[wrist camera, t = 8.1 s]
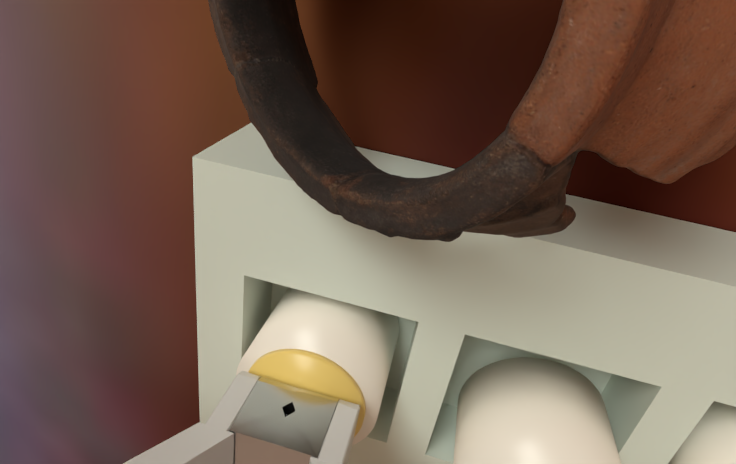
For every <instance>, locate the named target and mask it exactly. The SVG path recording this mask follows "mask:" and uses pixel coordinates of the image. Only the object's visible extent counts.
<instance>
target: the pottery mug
mask: <svg viewBox="0 0 736 464" xmlns="http://www.w3.org/2000/svg"><path fill="white" fill-rule="evenodd" d="M208 1H209V7H210V12H211V17H212V19H213V23H214V28H215V32H216V35H217V38H218V42H219V44H220V47H221V50H222V53H223V55H224V57H225V60H226V63H227V66H228V69H229V71H230V72H231V74H232V75H233V76H234V77H235V81H236V86H237V90H238V92H239V95H240V97H241V100H242V102H243V104H244V106H245V108H246V110H247V112H248V115H249V119H250V121H251V122H252V124H253V125H254V127H255V128H256V129H257V131H258V132H259V133H260V134H261V136H262V137H263V139H264V141H265V142H266V144H267V146H268V148H269V150H270V151H271V153H272V154H273V156H274V158H275V159H276V161H277V162H278V163H279V164H280V165H281V166H282V167H283V169H284V170H285V171H286V172H287V173H288V174H289V176H290V177H291V178H292V179H293V180H294V181H295V183H296V184H297V186H299V187H300V188H301V189H302V190H303V192H305V193H306V194H307V195H308V196H309V197H310V198H311V199H314V200H315V201H317V202H318V203H319V204H320V205H321V206H323V207H324V208H325V209H326V210H327V211H329V212H330V213H332V214H336V215H341V216H342V217H343V218H344V219H345V220H346V221H348V222H351V223H353V224H356V225H359V226H362V227H364V228H366V229H369V230H375V231H377V232H379V233H381V234H383V235H386V236H388V237H396V236H400V237H405V238H409V239H415V240H440V241H444V242H451V241H453V240H455V239H457V238H459V237H460V235H461V234H462V232H463V231H464V232H470V233H483V234H492V235H505V236H509V237H514V238H523V237H532V236H540V235H548V234H553V233H557V232H560V231H563V230H564V229H566V228H567V227H568V226H569V225H570V224H571V223H572V222H573V221H574V219H575V217H576V213H575V211H574V209H573V208H572V207H570V206H569V205H565V204H566V187H567V185H568V180H569V178H570V175H571V169H572V167H573V165H574V163H575V160H576V156H577V154H578V152H580V151H591V152H595V153H597V154H598V155H599V156H600V157H601V158H603V159H604V160H606V161H608V162H609V163H611V164H613V165H615V166H617V167H626V168H628V169H630V170H631V171H632V172H634V173H636V174H638V175H640V176H643V177H646V178H650V179H652V180H653V181H656V182H659V183H663V184H670V183H673V182H675V181H677V180H678V179H679V178H681V177H682V176H684V175H685V174H687V173H688V172H690V171H691V170H693V169H695V168H697V167H699V166H702V165H705V164H707V163H710V162H713V161H715V160H717V159H718V158H720V157H721V156H723V155H724V154H725V153H726V152H728V151H729V150H730V149H732V148H733V147H734V146H735V145H736V0H563V2H562V6H561V9H560V12H559V17H558V22H557V25H556V28H555V31H554V34H553V36H552V39H551V41H550V44H549V46H548V49H547V51H546V54H545V56H544V59H543V61H542V64H541V66H540V68H539V70H538V72H537V74H536V75H535V77H534V79H533V81H532V83H531V85H530V87H529V88H528V90H527V91H526V93H525V95H524V96H523V98H522V100H521V102H520V103H519V105H518V107H517V108H516V109H515V111H514V112H513V114H512V116H511V118H510V120H509V122H508V124H507V126H506V129H505V131H504V132H503V133H501V134H500V135H499V136H498V137H497V138H496V139H495V140H494V141H493V142H492V143H491V144H490V145H489V146H487V147H486V148H485V149H484V150H483V151H481V152H480V153H479V154H478V155H477V156H475V157H474V158H473V159H471V160H470V161H468V162H467V163H465V164H463V165H462V166H460V167H458V168H456V169H454V170H452V171H450V172H447V173H445V174H441V175H438V176H432V177H426V178H406V177H401V176H397V175H391V174H389V173H386V172H384V171H382V170H381V169H378V168H377V167H376V166H375V165H373V164H372V163H371V162H370V161H369V160H368V159H367V158H366V157H364V156H363V155H362V154H361V153H360V152H359V151H358V150H357V149H356V147H355V146H354V144H353V142H352V141H351V139H350V138H349V137H348V136H347V134H346V133H345V131H344V130H343V128H342V126H341V125H340V123H339V122H338V120H337V119H336V117H335V116H334V115H333V113H332V112H331V110H330V109H329V107H328V106H327V104H326V103H325V102H324V101H323V99H322V98H321V96H320V95H319V93H318V91H317V89H316V87H317V84H318V81H317V77H316V74H315V70H314V68H313V64H312V60H311V58H310V55H309V52H308V49H307V46H306V43H305V40H304V36H303V33H302V30H301V26H300V22H299V17H298V12H297V7H296V2H295V0H208Z"/></svg>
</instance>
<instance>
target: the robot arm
mask: <svg viewBox="0 0 736 464" xmlns="http://www.w3.org/2000/svg"><path fill="white" fill-rule="evenodd" d="M359 412H360V405H358V404H354V403H351V402H347V401H344V400H340V399H338V398H335V397H331V396H327V395H324V394H320V393H317V392H313V391H309V390H306V389H302V388H300V389H299V388H296V387H293V386H290V385H287V384H284V383H281V382H278V381H275V380H271V379H268V378H265V377H262V376H258V375H255V374H252V373H249V372H245V371H241V372H240V373H239V374H237V375H236V377H235V378H234V380H233V381H232V383H231V385H230V386H229V388H228V389H227V391H226V392H225V394H224V395H223V397H222V399H221V400H220V402H219V403H218V405H217V406H216V408H215V409H214V411H213V412H212V414H211V416H210V417H209V419H208V420H207V422H206V423H205V424H204V423H200V422H199V423H197V424H195V425H193V426H191V427H190V428H188V429H186V430H184V431H182V432H180V433H178V434H177V435H175V436H173V437H171V438H169V439H167V440H166V441H164V442H162V443H160V444H158V445H156V446H154V447H153V448H151V449H149V450H147V451H145V452H143V453H142V454H140V455H138V456H136V457H134V458H132V459H130V460H129V461H127V462H125V463H123V464H347V463H348V460H349V456H350V452H351V447H352V443H353V439H354V435H355V430H356V425H357V421H358V416H359Z"/></svg>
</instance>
